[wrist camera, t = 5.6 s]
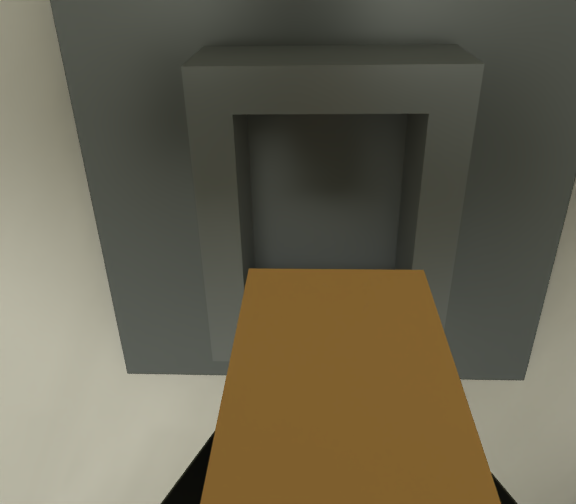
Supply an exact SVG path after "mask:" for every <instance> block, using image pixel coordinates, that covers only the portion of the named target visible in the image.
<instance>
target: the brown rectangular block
mask: <svg viewBox="0 0 576 504" xmlns="http://www.w3.org/2000/svg"><path fill="white" fill-rule="evenodd" d="M200 504H501V502H500V499H499V496H498V493H497V490H496V487H495V484H494V481H493V478H492V475H491V472H490V469H489V466H488V462H487V459H486V456H485V453H484V450H483V447H482V444H481V441H480V438H479V435H478V432H477V429H476V426H475V423H474V420H473V417H472V414H471V411H470V408H469V405H468V402H467V399H466V396H465V393H464V390H463V387H462V384H461V381H460V378H459V375H458V372H457V369H456V366H455V363H454V360H453V357H452V354H451V351H450V348H449V345H448V342H447V339H446V336H445V333H444V330H443V327H442V323H441V320H440V317H439V314H438V311H437V308H436V305H435V302H434V299H433V296H432V293H431V290H430V287H429V284H428V281H427V278H426V275H425V272H424V270H382V269H256V268H249V270H248V275H247V279H246V284H245V289H244V294H243V299H242V304H241V309H240V313H239V318H238V323H237V328H236V333H235V338H234V342H233V347H232V352H231V357H230V362H229V367H228V371H227V376H226V381H225V386H224V391H223V396H222V400H221V405H220V410H219V415H218V420H217V425H216V430H215V434H214V439H213V444H212V449H211V454H210V459H209V463H208V468H207V473H206V478H205V483H204V488H203V492H202V497H201V502H200Z"/></svg>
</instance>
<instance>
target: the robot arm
mask: <svg viewBox="0 0 576 504" xmlns="http://www.w3.org/2000/svg"><path fill="white" fill-rule="evenodd" d="M214 434H215V431H214V433H213V434H212V435H211V437H210V438H209V439H208V441H207V442H206V443H205V445H204V446H203V447H202V449H201V450H200V451H199V453H198V454H197V456H196V457H195V458H194V460H193V461H192V462H191V464H190V465H189V466H188V468H187V469H186V470H185V472H184V473H183V474H182V476H181V477H180V478H179V480H178V481H177V482H176V484H175V485H174V486H173V488H172V489H171V491H170V492H169V493H168V495H167V496H166V497H165V499H164V500H163V501H162V503H161V504H200V502H201V497H202V492H203V488H204V483H205V478H206V473H207V468H208V463H209V459H210V454H211V449H212V444H213V439H214ZM491 475H492V478H493V481H494V484H495V487H496V490H497V493H498V496H499V499H500V502H501V504H517V502H516V501H515V500H514V499H513V498H512V497H511V495H510V494H509V493H508V492H507V491H506V489H505V488H504V487H503V486H502V485H501V484H500V482H499V481H498V480H497V479H496V478H495V476H494V475H493V474H492V473H491Z"/></svg>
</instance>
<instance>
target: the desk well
mask: <svg viewBox="0 0 576 504" xmlns="http://www.w3.org/2000/svg"><path fill="white" fill-rule="evenodd" d="M50 3H51V8H52V12H53V17H54V22H55V27H56V32H57V36H58V41H59V46H60V51H61V56H62V61H63V65H64V70H65V75H66V80H67V85H68V89H69V94H70V99H71V104H72V109H73V113H74V118H75V123H76V128H77V133H78V138H79V142H80V147H81V152H82V157H83V162H84V166H85V171H86V176H87V181H88V186H89V190H90V195H91V200H92V205H93V210H94V215H95V219H96V224H97V229H98V234H99V239H100V243H101V248H102V253H103V258H104V263H105V267H106V272H107V277H108V282H109V287H110V292H111V296H112V301H113V306H114V311H115V316H116V320H117V325H118V330H119V335H120V340H121V344H122V349H123V354H124V359H125V364H126V369H127V373H128V374H184V375H227V371H228V367H229V362H230V357H231V352H232V347H233V342H234V338H235V333H236V328H237V323H238V318H239V313H240V309H241V304H242V299H243V294H244V289H245V284H246V279H247V275H248V270H249V268H256V269H382V270H424V272H425V275H426V278H427V281H428V284H429V287H430V290H431V293H432V296H433V299H434V302H435V305H436V308H437V311H438V314H439V317H440V320H441V323H442V327H443V330H444V333H445V336H446V339H447V342H448V345H449V348H450V351H451V354H452V357H453V360H454V363H455V366H456V369H457V372H458V375H459V378H460V379H472V380H524V378H525V374H526V371H527V367H528V363H529V359H530V355H531V351H532V347H533V343H534V339H535V335H536V331H537V327H538V323H539V319H540V315H541V311H542V307H543V303H544V299H545V295H546V292H547V288H548V284H549V280H550V276H551V272H552V268H553V264H554V260H555V256H556V252H557V248H558V244H559V240H560V236H561V232H562V228H563V224H564V220H565V216H566V213H567V209H568V205H569V201H570V197H571V193H572V189H573V185H574V181H575V177H576V0H50Z"/></svg>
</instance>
